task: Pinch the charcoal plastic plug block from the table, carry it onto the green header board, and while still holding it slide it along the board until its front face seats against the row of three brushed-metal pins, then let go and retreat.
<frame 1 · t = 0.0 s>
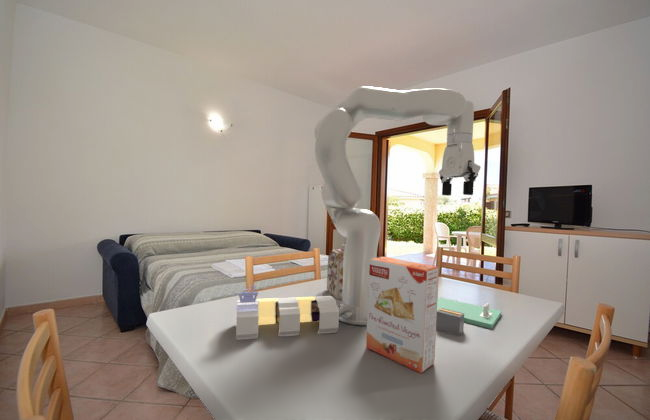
hand: (456, 195, 97), 37 cm above the table, tool pointing down, fingers open, 9 cm apart
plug: (449, 330, 82), on the table
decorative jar: (345, 294, 112), on the table
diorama: (286, 330, 78), on the table
board: (462, 313, 95), on the table
cracker box: (398, 357, 66), on the table
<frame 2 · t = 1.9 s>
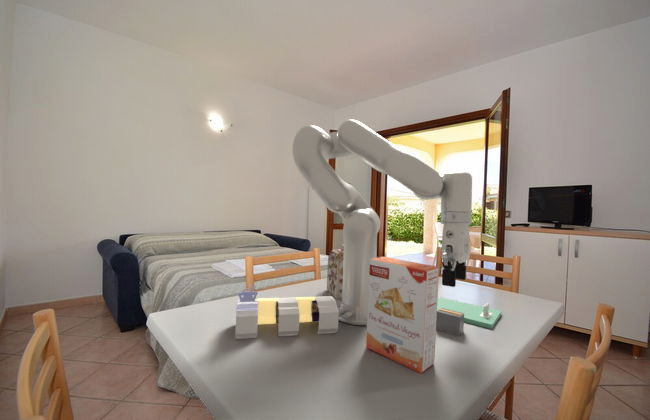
hand: (454, 282, 81), 13 cm above the table, tool pointing down, fingers open, 9 cm apart
nothing on the table moved.
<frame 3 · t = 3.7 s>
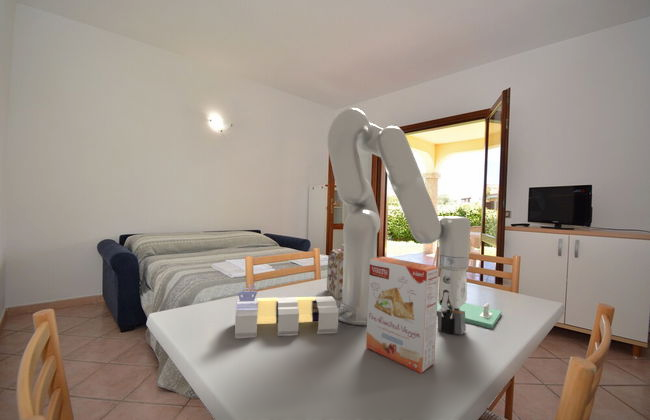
hand: (450, 329, 82), 0 cm above the table, tool pointing down, fingers closed on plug, 3 cm apart
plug: (451, 330, 81), on the table, touching gripper
everything else where it was.
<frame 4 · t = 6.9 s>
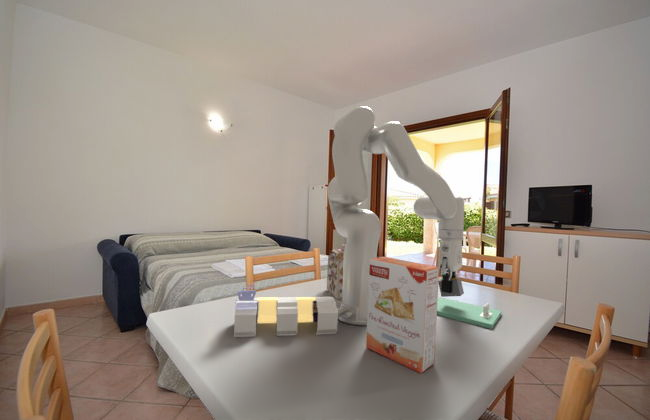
hand: (448, 290, 99), 6 cm above the table, tool pointing down, fingers closed on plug, 4 cm apart
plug: (452, 295, 98), point 5 cm above the table, tilted 14°, touching gripper
everything else where it was.
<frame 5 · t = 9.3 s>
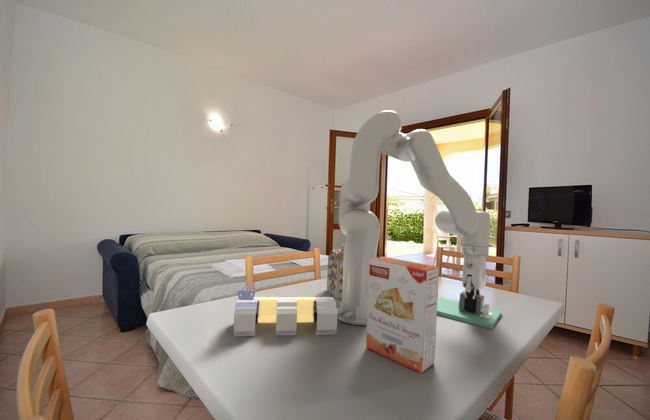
hand: (471, 308, 94), 2 cm above the table, tool pointing down, fingers closed on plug, 3 cm apart
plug: (470, 310, 94), point 1 cm above the table, touching board, gripper
when the fingers open (2 cm above the table, at t = 10.4 s): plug stays where it is, resting on board.
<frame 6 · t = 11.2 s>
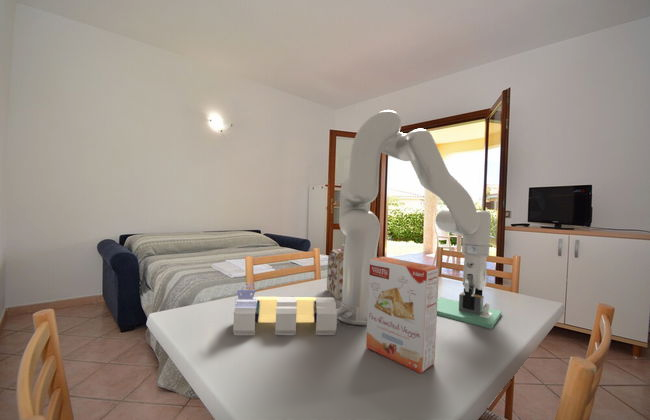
hand: (472, 305, 94), 3 cm above the table, tool pointing down, fingers open, 9 cm apart
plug: (470, 311, 94), point 1 cm above the table, touching board
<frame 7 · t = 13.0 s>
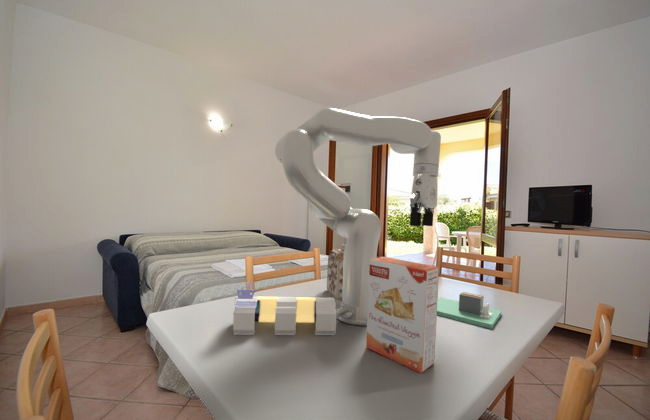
hand: (421, 225, 95), 27 cm above the table, tool pointing down, fingers open, 9 cm apart
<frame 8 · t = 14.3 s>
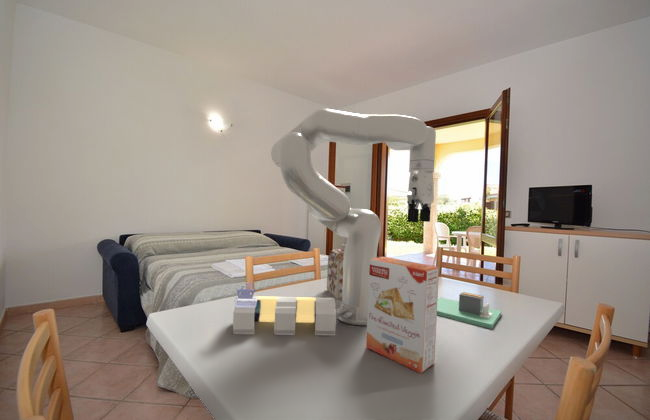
hand: (419, 221, 95), 28 cm above the table, tool pointing down, fingers open, 9 cm apart
at the end: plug 0.6 cm from the target spot on the board, point 1.2 cm above the board's base; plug tilted 0°; the gripper is holding nothing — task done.
